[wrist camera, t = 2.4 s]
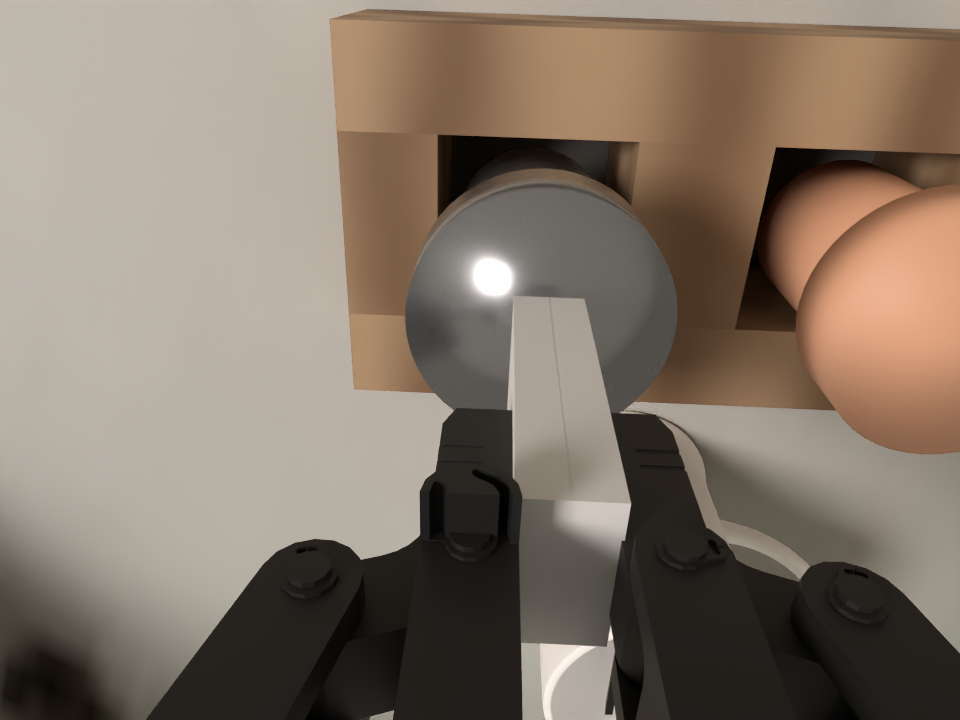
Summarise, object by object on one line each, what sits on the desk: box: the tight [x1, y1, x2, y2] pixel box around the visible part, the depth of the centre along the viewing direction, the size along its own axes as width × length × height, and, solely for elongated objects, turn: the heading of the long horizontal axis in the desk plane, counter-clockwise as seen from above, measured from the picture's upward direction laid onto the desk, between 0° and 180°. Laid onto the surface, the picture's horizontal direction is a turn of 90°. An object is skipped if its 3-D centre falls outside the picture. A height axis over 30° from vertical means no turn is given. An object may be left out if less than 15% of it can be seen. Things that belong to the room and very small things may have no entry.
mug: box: [540, 411, 810, 720], centre depth 29 cm, size 12×8×12 cm
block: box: [330, 9, 960, 410], centre depth 25 cm, size 22×12×6 cm, turn 88°
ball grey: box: [405, 148, 678, 413], centre depth 20 cm, size 6×6×8 cm
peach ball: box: [757, 160, 960, 454], centre depth 20 cm, size 6×6×8 cm
